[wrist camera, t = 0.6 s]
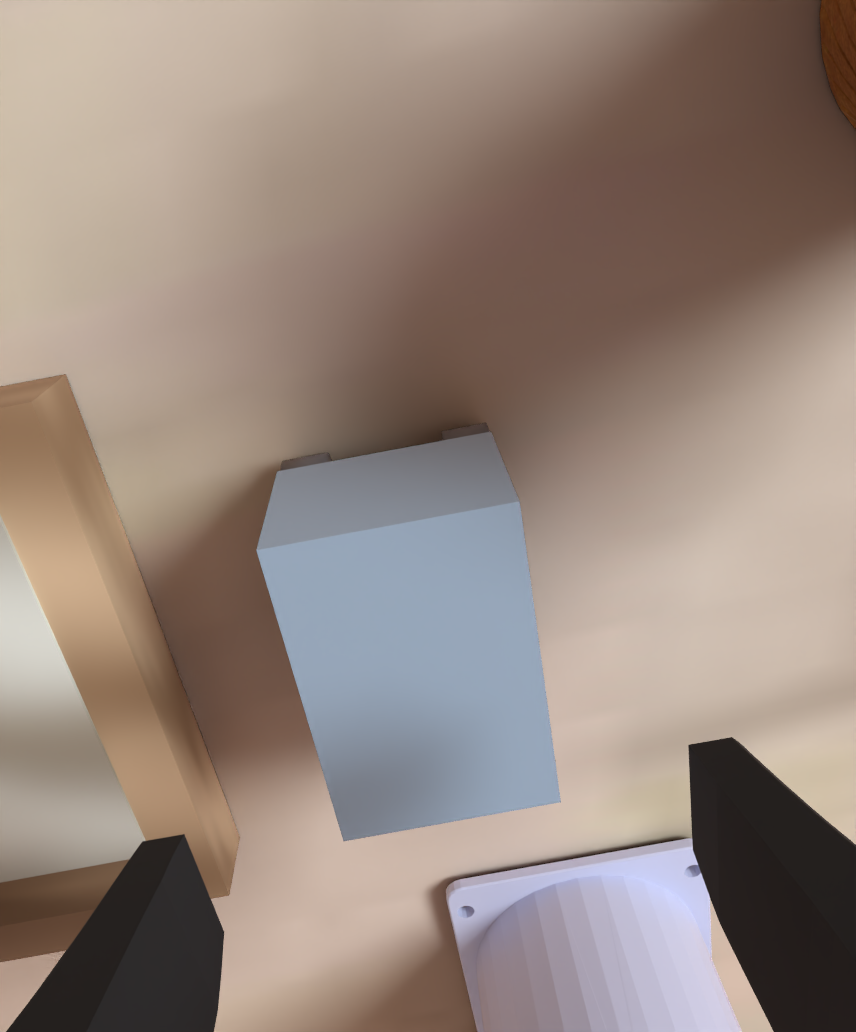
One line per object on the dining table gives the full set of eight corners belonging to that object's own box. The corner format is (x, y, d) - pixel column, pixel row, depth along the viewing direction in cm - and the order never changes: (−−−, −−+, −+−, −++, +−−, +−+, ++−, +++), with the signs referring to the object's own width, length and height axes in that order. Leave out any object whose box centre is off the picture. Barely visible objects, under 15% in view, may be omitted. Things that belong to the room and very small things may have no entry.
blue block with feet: (519, 656, 22) (560, 801, 17) (349, 688, 22) (343, 840, 17) (481, 407, 19) (519, 501, 14) (284, 444, 19) (256, 550, 14)
